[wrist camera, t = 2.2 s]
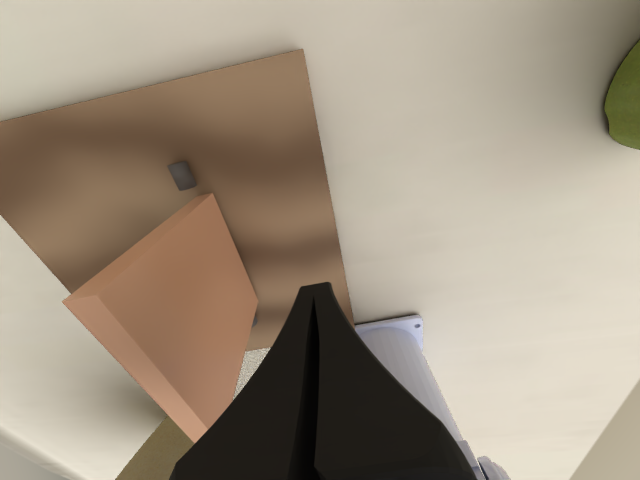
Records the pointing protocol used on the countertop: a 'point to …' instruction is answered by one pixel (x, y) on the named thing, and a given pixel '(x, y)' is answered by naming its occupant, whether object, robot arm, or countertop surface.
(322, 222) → the board
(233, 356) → the tile
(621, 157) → the countertop surface
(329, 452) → the robot arm
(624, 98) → the plant pot
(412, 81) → the countertop surface
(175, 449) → the plant pot
